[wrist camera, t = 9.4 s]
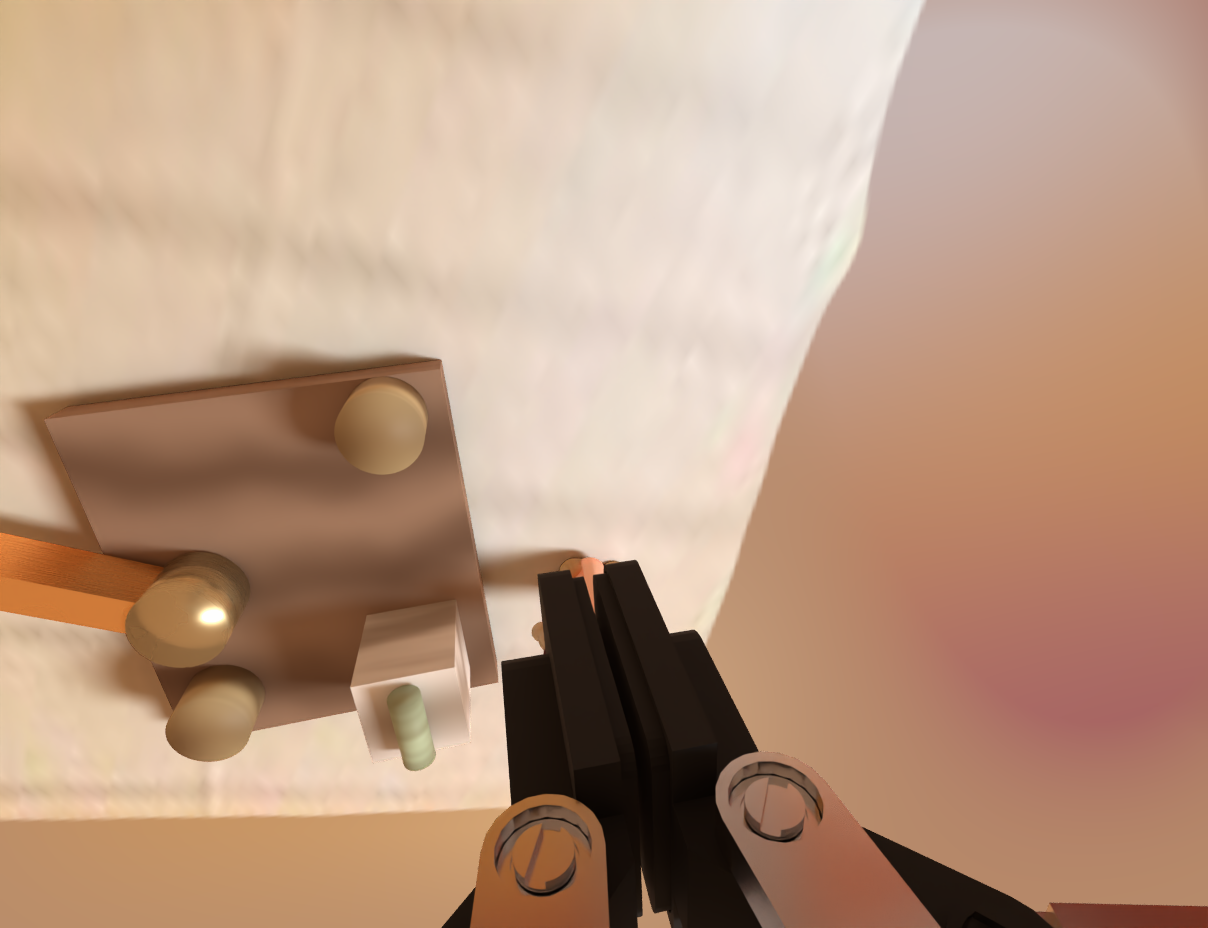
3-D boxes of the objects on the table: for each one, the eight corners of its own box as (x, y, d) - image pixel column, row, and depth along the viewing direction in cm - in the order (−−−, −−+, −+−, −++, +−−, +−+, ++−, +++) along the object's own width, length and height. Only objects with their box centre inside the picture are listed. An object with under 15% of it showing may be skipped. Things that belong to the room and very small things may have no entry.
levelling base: (67, 406, 32) (-80, 486, 23) (441, 359, 35) (433, 415, 26) (200, 718, 40) (127, 865, 31) (496, 661, 43) (505, 781, 34)
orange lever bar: (258, 563, 35) (237, 602, 32) (240, 631, 36) (218, 675, 33) (-7, 504, 31) (-62, 541, 28) (-17, 581, 32) (-70, 625, 29)
